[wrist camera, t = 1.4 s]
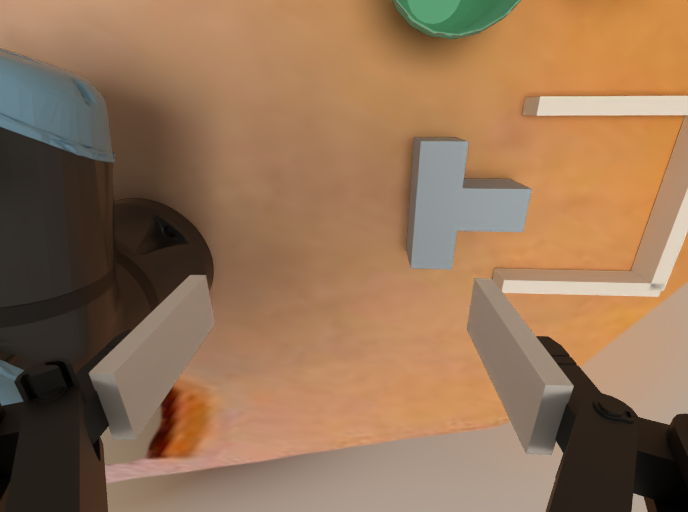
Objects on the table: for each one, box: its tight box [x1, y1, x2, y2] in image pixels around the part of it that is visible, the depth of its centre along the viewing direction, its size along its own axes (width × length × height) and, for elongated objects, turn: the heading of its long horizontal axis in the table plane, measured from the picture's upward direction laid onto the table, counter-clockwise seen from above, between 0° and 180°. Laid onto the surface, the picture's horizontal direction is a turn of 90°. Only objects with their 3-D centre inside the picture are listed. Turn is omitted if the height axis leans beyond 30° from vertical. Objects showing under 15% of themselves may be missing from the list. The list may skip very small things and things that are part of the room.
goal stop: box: [492, 96, 688, 297], centre depth 34 cm, size 16×19×3 cm
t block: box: [406, 137, 532, 269], centre depth 34 cm, size 10×12×5 cm
